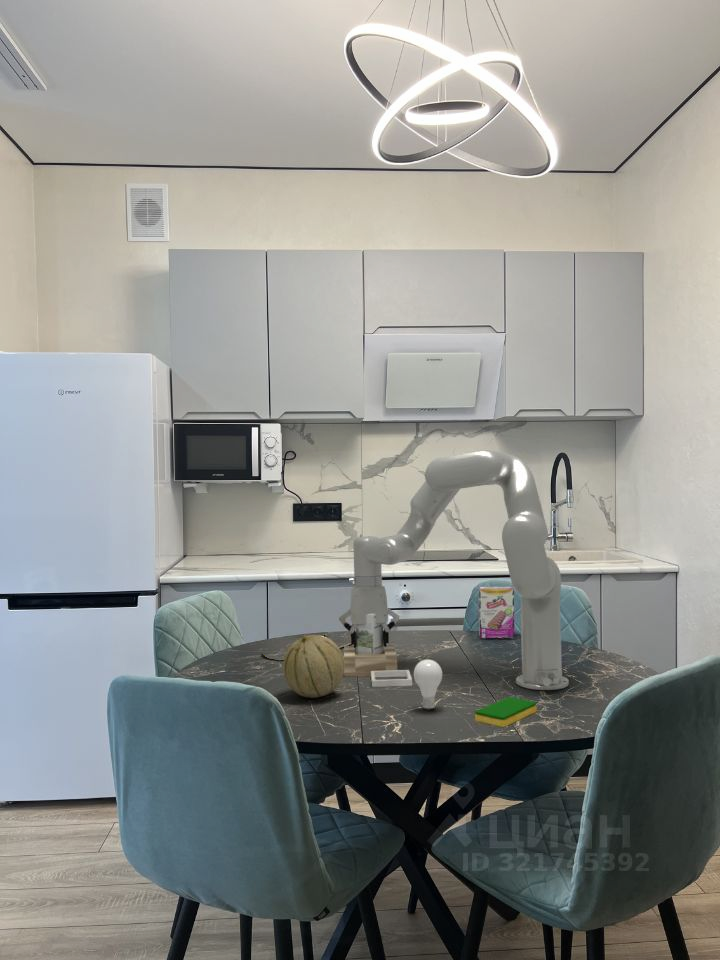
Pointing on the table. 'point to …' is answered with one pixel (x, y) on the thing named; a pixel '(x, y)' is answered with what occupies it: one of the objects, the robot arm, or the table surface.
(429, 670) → the lightbulb
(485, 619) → the candy bar box
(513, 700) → the dish sponge
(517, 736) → the table surface
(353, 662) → the block
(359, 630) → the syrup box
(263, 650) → the table surface
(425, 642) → the table surface
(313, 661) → the cantaloupe
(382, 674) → the stand frame
